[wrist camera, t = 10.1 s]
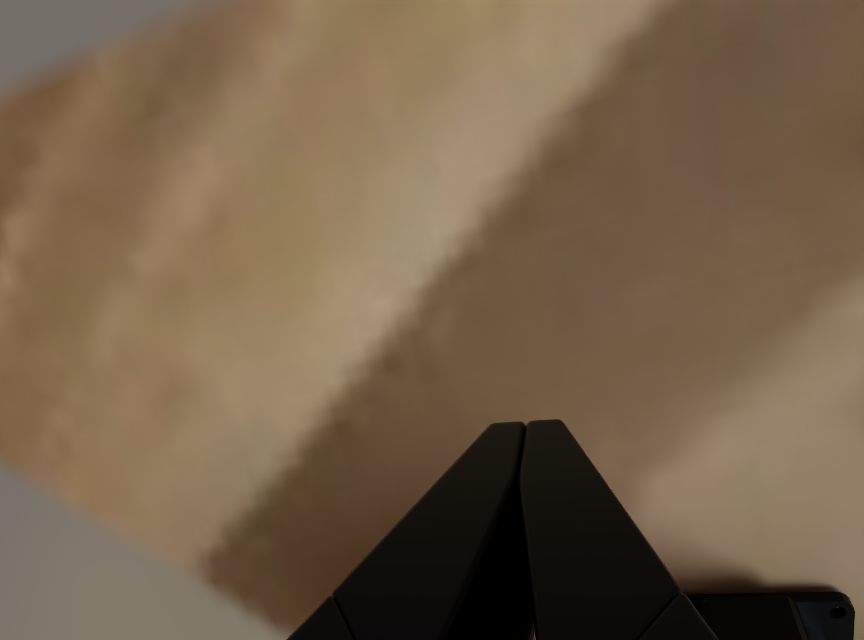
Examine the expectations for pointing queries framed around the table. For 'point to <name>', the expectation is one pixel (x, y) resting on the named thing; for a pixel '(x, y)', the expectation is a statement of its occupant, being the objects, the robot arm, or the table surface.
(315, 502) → the table surface
